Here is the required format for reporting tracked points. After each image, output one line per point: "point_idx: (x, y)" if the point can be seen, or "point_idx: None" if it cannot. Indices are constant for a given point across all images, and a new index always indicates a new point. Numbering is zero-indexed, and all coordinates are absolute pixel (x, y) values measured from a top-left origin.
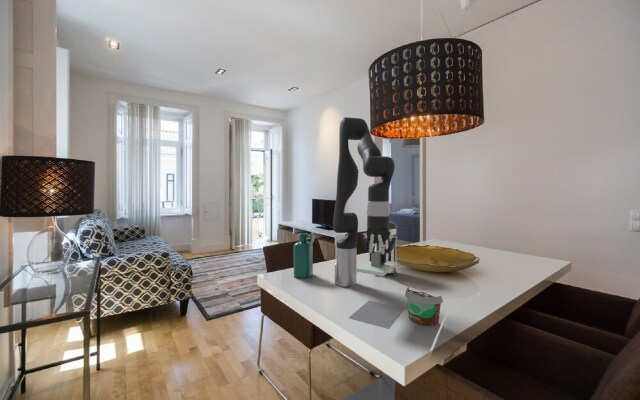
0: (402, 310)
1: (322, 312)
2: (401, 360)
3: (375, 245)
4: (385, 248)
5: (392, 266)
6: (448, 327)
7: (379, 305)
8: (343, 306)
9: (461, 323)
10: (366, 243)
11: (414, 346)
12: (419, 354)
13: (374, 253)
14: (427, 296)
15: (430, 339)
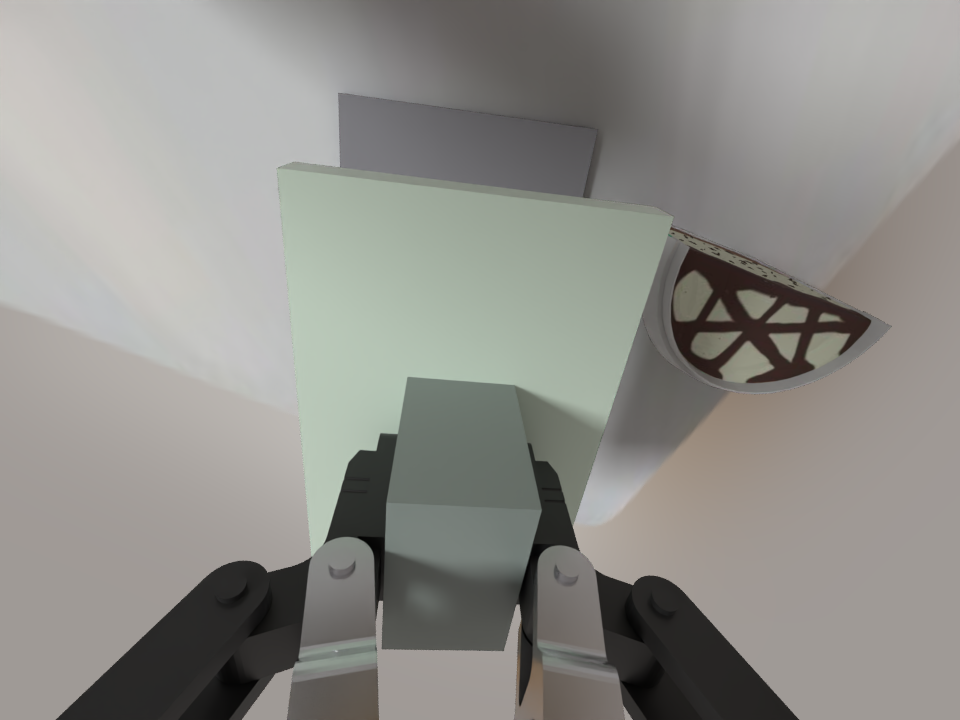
0: (583, 175)
1: (196, 364)
2: (593, 519)
3: (375, 656)
4: (585, 641)
5: (610, 398)
6: (797, 258)
7: (435, 159)
8: (238, 249)
9: (884, 181)
10: (154, 698)
11: (631, 449)
12: (644, 479)
13: (429, 645)
14: (791, 329)
15: (692, 388)
